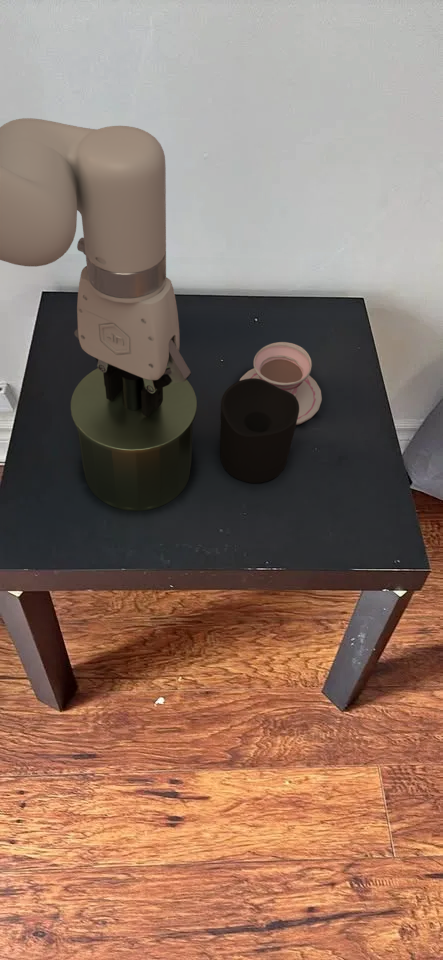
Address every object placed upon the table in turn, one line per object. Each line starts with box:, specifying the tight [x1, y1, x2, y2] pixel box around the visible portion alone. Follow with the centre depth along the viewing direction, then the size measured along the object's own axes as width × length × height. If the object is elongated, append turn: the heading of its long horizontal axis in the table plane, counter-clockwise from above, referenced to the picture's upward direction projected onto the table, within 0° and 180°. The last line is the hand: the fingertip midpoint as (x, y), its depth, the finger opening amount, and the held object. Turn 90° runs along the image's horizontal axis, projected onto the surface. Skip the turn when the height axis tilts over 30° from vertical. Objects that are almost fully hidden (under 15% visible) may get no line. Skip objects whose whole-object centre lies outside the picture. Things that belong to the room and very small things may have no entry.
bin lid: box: [70, 365, 198, 453], centre depth 85 cm, size 14×14×6 cm
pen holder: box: [219, 378, 299, 484], centre depth 94 cm, size 9×9×10 cm
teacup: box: [239, 341, 323, 426], centre depth 102 cm, size 12×12×6 cm
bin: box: [77, 422, 194, 512], centre depth 91 cm, size 13×13×12 cm
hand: (134, 399), depth 86 cm, fingers open, 4 cm apart
